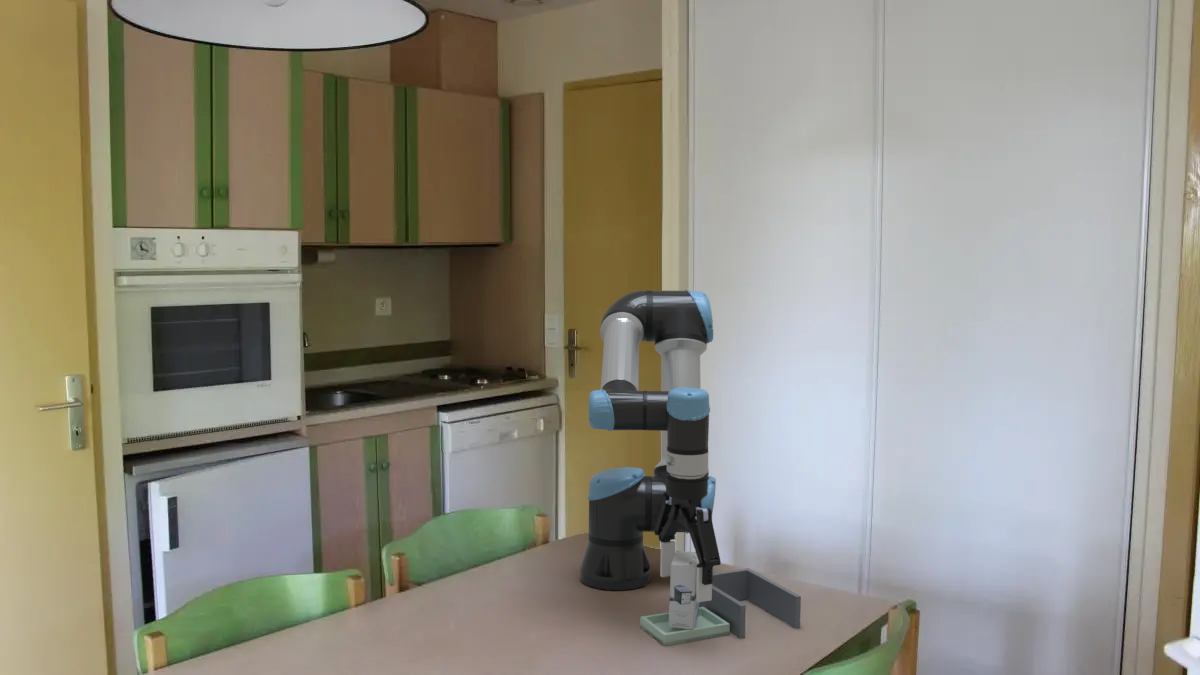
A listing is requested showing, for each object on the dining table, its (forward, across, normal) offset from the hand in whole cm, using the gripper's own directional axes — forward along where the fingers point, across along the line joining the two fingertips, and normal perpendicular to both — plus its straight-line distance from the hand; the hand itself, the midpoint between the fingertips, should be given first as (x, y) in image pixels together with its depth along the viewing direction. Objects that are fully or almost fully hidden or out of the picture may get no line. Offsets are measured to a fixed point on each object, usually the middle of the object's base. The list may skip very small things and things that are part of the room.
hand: (685, 587), depth 174 cm
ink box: (+6, +1, 0) cm, 6 cm away
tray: (+8, +1, 0) cm, 8 cm away
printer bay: (+8, -1, +14) cm, 16 cm away
